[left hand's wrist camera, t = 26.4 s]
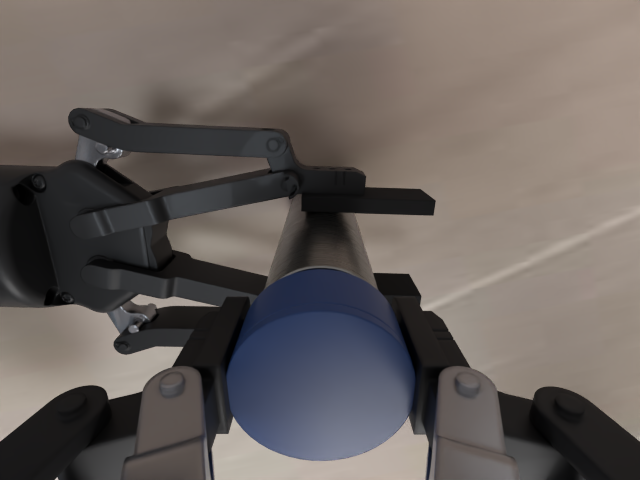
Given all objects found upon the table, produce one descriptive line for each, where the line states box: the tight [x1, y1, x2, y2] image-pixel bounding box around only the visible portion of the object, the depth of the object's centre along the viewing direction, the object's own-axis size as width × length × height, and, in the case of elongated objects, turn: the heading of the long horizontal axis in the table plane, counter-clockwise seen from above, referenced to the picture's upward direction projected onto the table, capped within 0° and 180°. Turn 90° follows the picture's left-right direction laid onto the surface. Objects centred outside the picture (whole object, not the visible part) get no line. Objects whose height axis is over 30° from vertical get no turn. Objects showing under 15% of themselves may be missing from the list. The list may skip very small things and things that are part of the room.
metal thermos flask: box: [264, 194, 378, 290], centre depth 18 cm, size 4×4×16 cm
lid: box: [226, 269, 416, 461], centre depth 10 cm, size 5×5×2 cm
